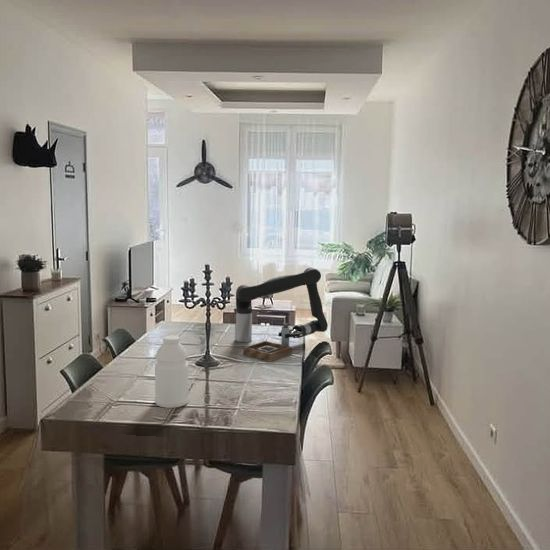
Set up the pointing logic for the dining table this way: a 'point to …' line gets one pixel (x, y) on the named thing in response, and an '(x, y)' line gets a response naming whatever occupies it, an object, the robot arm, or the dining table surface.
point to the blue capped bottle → (284, 331)
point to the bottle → (171, 374)
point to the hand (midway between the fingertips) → (282, 335)
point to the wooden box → (267, 350)
